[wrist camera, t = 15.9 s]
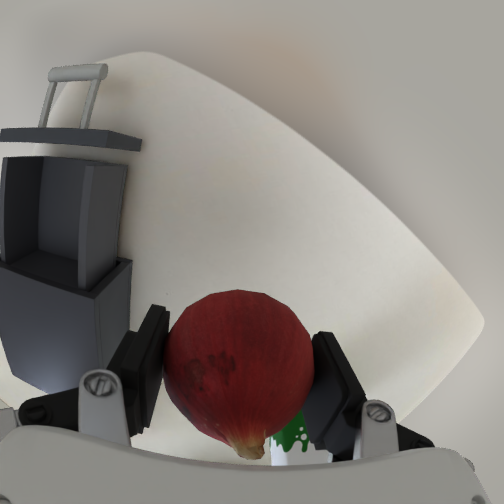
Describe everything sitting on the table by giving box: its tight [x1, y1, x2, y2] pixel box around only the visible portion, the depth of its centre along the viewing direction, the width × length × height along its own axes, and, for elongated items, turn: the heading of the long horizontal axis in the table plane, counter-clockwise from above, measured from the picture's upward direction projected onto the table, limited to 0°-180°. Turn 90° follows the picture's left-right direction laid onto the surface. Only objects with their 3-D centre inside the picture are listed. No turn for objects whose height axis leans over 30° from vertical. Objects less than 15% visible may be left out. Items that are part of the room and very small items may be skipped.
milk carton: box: [269, 410, 329, 466], centre depth 25 cm, size 9×9×20 cm
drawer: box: [0, 63, 142, 292], centre depth 20 cm, size 20×13×7 cm, turn 167°
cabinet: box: [0, 255, 133, 394], centre depth 24 cm, size 15×14×9 cm
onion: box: [163, 289, 315, 460], centre depth 10 cm, size 6×6×8 cm
